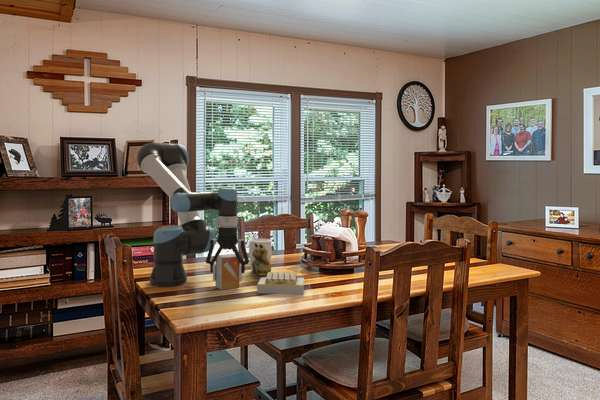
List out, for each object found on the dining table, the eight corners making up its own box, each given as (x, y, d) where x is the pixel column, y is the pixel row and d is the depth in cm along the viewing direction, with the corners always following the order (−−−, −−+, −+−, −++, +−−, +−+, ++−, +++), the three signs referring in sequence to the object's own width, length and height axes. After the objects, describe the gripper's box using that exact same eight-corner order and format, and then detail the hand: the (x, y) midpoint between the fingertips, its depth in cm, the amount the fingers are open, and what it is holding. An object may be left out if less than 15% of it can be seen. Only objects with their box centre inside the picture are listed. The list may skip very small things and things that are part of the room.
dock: (257, 293, 194) (257, 284, 194) (260, 284, 208) (261, 275, 208) (303, 294, 194) (303, 285, 194) (304, 285, 208) (304, 276, 208)
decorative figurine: (248, 275, 223) (248, 242, 222) (263, 273, 229) (263, 241, 228) (260, 280, 216) (261, 245, 215) (276, 277, 221) (276, 243, 220)
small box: (221, 290, 198) (221, 258, 197) (215, 286, 203) (215, 255, 202) (240, 287, 202) (240, 256, 201) (233, 284, 208) (233, 253, 207)
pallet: (265, 285, 195) (265, 278, 195) (267, 277, 207) (268, 272, 207) (295, 285, 195) (295, 279, 195) (296, 278, 207) (296, 272, 207)
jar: (245, 273, 229) (245, 240, 228) (252, 268, 239) (253, 237, 238) (267, 274, 226) (267, 242, 225) (274, 269, 236) (274, 238, 235)
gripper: (197, 227, 197) (197, 282, 199) (254, 228, 197) (254, 283, 199) (202, 224, 205) (202, 277, 207) (256, 225, 204) (256, 279, 206)
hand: (227, 280), depth 203 cm, fingers closed on small box, 10 cm apart
